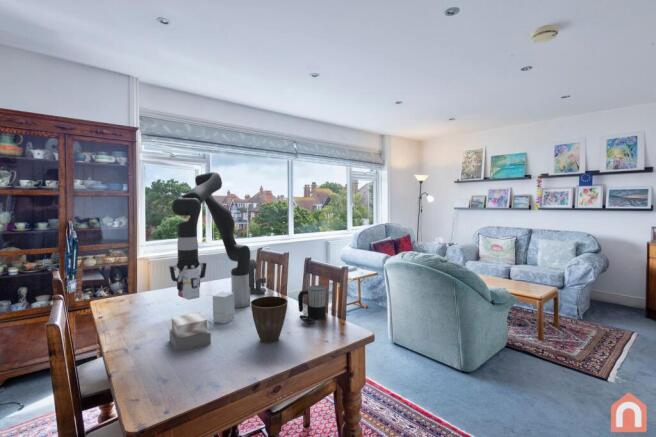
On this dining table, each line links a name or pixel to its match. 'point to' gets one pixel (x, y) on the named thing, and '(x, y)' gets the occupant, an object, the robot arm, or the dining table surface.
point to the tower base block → (189, 341)
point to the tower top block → (189, 325)
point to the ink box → (190, 284)
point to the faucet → (258, 282)
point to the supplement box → (223, 307)
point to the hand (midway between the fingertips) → (188, 289)
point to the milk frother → (313, 303)
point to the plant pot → (269, 317)
